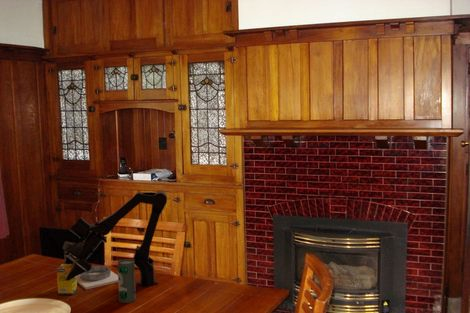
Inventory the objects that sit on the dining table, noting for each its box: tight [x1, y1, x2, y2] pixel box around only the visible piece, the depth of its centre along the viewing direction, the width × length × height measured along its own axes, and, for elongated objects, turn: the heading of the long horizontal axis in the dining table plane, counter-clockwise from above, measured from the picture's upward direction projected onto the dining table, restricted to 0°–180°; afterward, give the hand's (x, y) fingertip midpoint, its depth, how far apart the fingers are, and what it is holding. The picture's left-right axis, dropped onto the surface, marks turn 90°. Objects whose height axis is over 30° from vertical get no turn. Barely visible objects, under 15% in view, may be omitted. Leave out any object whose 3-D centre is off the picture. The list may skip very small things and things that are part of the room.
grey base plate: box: [76, 270, 118, 290], centre depth 225 cm, size 22×16×1 cm
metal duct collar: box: [80, 265, 112, 281], centre depth 225 cm, size 12×12×2 cm
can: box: [117, 259, 137, 304], centre depth 199 cm, size 6×6×15 cm
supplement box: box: [56, 263, 78, 296], centre depth 208 cm, size 6×6×11 cm
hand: (63, 277), depth 207 cm, fingers closed on supplement box, 8 cm apart
